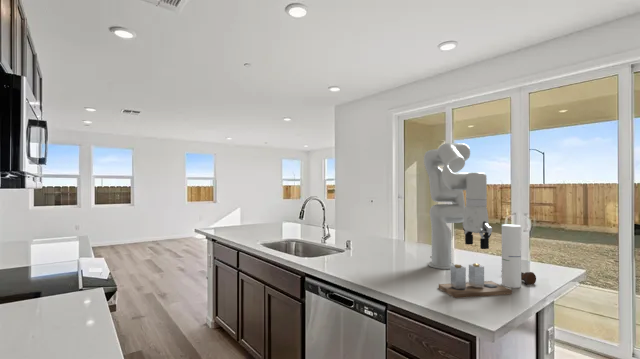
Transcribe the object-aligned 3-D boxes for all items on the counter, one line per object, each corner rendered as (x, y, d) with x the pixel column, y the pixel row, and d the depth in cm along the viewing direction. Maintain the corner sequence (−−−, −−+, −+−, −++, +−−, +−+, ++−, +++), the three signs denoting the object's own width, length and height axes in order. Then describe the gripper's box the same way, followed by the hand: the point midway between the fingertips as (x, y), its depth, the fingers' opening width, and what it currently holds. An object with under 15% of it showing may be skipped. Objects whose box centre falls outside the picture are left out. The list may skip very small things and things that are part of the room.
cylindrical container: (521, 288, 137) (520, 227, 137) (501, 285, 141) (500, 225, 140) (521, 284, 143) (521, 225, 143) (502, 281, 147) (502, 223, 147)
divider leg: (468, 284, 136) (468, 263, 136) (477, 283, 137) (477, 262, 137) (475, 287, 132) (474, 265, 132) (484, 286, 133) (484, 265, 133)
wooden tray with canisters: (438, 287, 138) (438, 262, 138) (491, 284, 142) (491, 259, 142) (455, 298, 126) (455, 269, 126) (511, 294, 130) (511, 266, 130)
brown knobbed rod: (505, 278, 157) (533, 287, 142) (497, 274, 156) (524, 282, 141) (510, 267, 158) (538, 275, 143) (502, 262, 157) (529, 270, 142)
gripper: (455, 202, 142) (455, 243, 142) (481, 205, 125) (482, 251, 125) (471, 202, 144) (471, 242, 143) (499, 204, 126) (500, 250, 126)
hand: (476, 246), depth 134 cm, fingers open, 9 cm apart
